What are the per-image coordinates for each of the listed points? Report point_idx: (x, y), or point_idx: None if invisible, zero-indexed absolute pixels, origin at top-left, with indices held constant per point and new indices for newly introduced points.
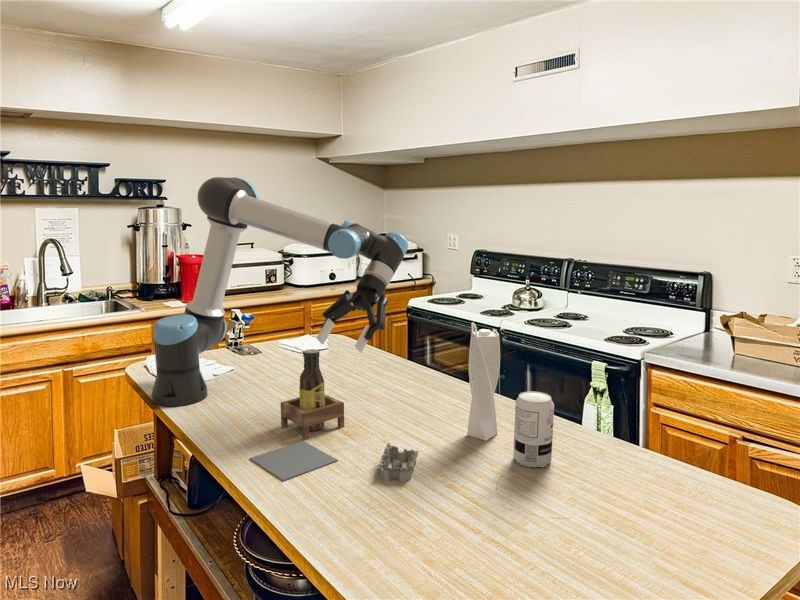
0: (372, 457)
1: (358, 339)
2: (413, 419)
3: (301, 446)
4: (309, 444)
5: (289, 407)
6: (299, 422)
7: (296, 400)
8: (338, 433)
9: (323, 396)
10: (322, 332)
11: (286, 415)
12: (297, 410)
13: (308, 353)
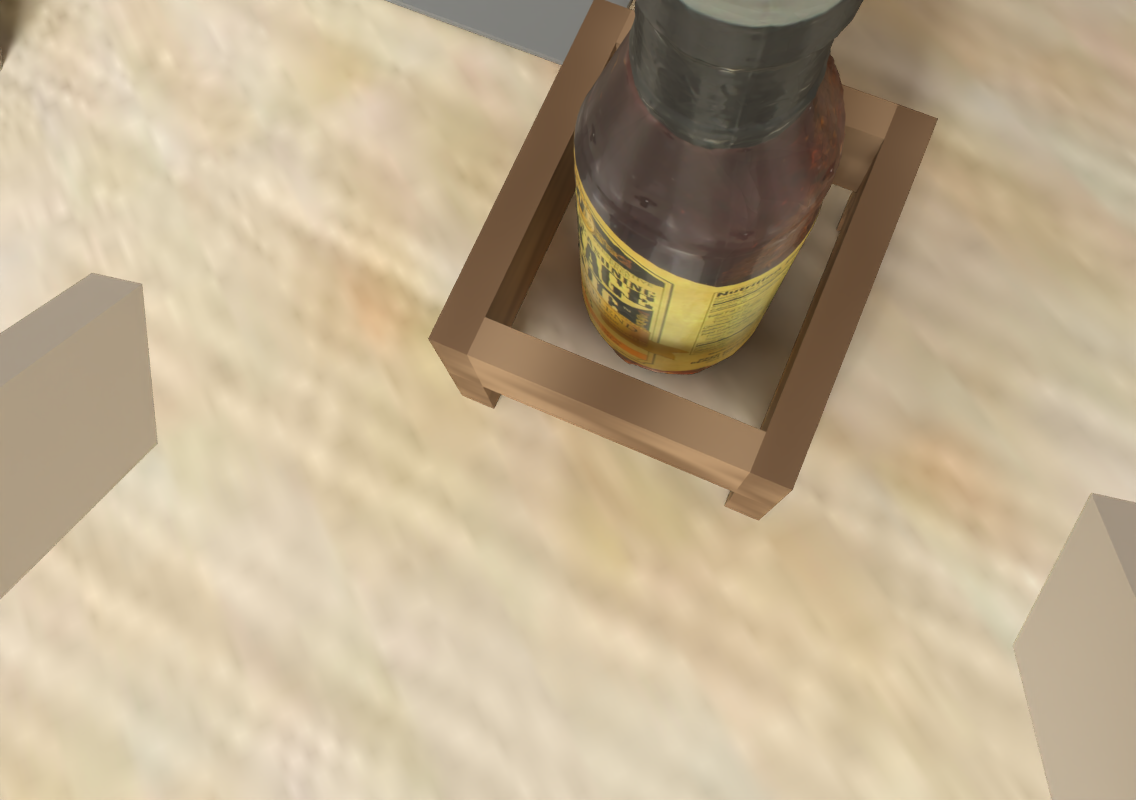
0: (95, 71)
1: (43, 347)
2: (15, 759)
3: (552, 2)
4: (522, 43)
5: None
6: None
7: (850, 223)
8: (446, 281)
9: (577, 216)
10: (1132, 621)
11: None
12: None
13: None
